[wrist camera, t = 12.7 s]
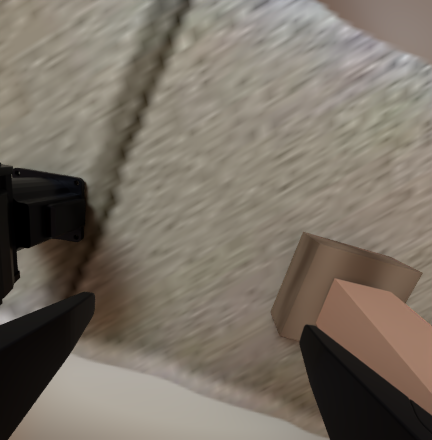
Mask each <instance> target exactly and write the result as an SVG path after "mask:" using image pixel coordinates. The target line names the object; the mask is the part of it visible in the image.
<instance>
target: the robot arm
mask: <svg viewBox="0 0 432 440" xmlns="http://www.w3.org/2000/svg"><path fill="white" fill-rule="evenodd" d="M19 172H20V175H19ZM11 174H12V175H11ZM77 181H78V182H79V185H77ZM84 225H85V200H84V181H83V179H81V178H78V177H72V176H66V175H60V174H54V173H48V172H42V171H36V170H30V169H24V168H14V169H13V166H9V165H3V164H1V163H0V305H1V304H2V299H3V298H4V297H5V296H6V295H7V294H8V293H9V292H10V291H11V290H12V289H13V286H14V283H15V282H16V281H17V280H18V279H19V278H20V271H19V270H18V265H17V251H19V250H21V249H24V248H30V247H33V246H35V245H37V244H40V243H42V242H45V241H47V240H49V239H53V238H54V239H61V240H67V241H74V242H79V241H81V240H82V239H83V237H84ZM76 235H78V237H79V238H77V237H76ZM94 310H95V294H94V293H90V292H82V293H79V294H77V295H74V296H72V297H69V298H67V299H64V300H62V301H59V302H57V303H54V304H52V305H49V306H47V307H44V308H42V309H39V310H37V311H34V312H32V313H29V314H27V315H24V316H22V317H19V318H17V319H14V320H12V321H9V322H7V323H4V324H2V325H0V440H8V439H9V437H10V436H11V435H12V433H13V432H14V431H15V429H16V428H17V426H18V425H19V424H20V422H21V421H22V420H23V418H24V417H25V415H26V414H27V413H28V411H29V410H30V409H31V407H32V406H33V404H34V403H35V402H36V400H37V399H38V397H39V396H40V395H41V393H42V392H43V390H44V389H45V388H46V386H47V385H48V384H49V382H50V381H51V380H52V378H53V377H54V375H55V374H56V373H57V371H58V370H59V369H60V367H61V366H62V364H63V363H64V362H65V360H66V359H67V357H68V356H69V355H70V353H71V352H72V350H73V348H74V347H75V345H76V343H77V342H78V340H79V338H80V337H81V335H82V333H83V332H84V330H85V328H86V327H87V325H88V323H89V322H90V320H91V318H92V316H93V314H94ZM300 348H301V352H302V356H303V359H304V363H305V367H306V371H307V374H308V378H309V382H310V385H311V388H312V391H313V394H314V397H315V399H316V402H317V405H318V408H319V410H320V413H321V416H322V419H323V421H324V424H325V427H326V430H327V432H328V435H329V438H330V440H432V415H431V414H430V413H428V412H427V411H426V410H424V409H423V408H422V407H420V406H419V405H418V404H417V403H415V402H414V401H413V400H411V399H409V398H408V397H407V396H406V395H405V394H403V393H402V392H401V391H400V390H398V389H397V388H396V387H394V386H393V385H392V384H390V383H389V382H388V381H387V380H385V379H384V378H383V377H381V376H380V375H379V374H378V373H376V372H375V371H374V370H372V369H371V368H370V367H368V366H367V365H366V364H365V363H363V362H362V361H361V360H359V359H358V358H357V357H355V356H354V355H353V354H352V353H350V352H349V351H348V350H346V349H345V348H344V347H342V346H341V345H340V344H339V343H337V342H336V341H335V340H333V339H332V338H331V337H330V336H328V335H327V334H326V333H324V332H323V331H322V330H320V329H319V328H318V327H317V326H315V325H309V324H306V325H305V326H304V328H303V331H302V334H301V337H300Z"/></svg>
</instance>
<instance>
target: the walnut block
mask: <svg viewBox="0 0 432 440" xmlns="http://www.w3.org/2000/svg"><path fill="white" fill-rule="evenodd" d="M422 274H423V273H422V272H420V271H418V270H416V269H414V268H412V267H410V266H407V265H405V264H403V263H401V262H399V261H397V260H395V259H393V258H391V257H389V256H385V255H382V254H378V253H375V252H371V251H368V250H365V249H361V248H358V247H354V246H351V245H347V244H344V243H340V242H337V241H333V240H330V239H326V238H323V237H319V236H316V235H312V234H309V233H305V232H303V234H302V236H301V239H300V241H299V244H298V246H297V248H296V251H295V253H294V256H293V258H292V261H291V263H290V266H289V268H288V270H287V273H286V275H285V278H284V280H283V283H282V285H281V288H280V290H279V293H278V295H277V297H276V300H275V302H274V305H273V307H272V310H271V314H272V317H273V319H274V322H275V325H276V327H277V330H278V332H279V335H280V336H282V337H286V338H289V339H293V340H297V341H300V337H301V334H302V331H303V328H304V326H305V325H306V324H309V325H315V326H317V325H316V321H317V319H318V316H319V314H320V312H321V309H322V307H323V304H324V302H325V300H326V297H327V295H328V292H329V290H330V288H331V285H332V283H333V281H334V278H335V279H340V280H344V281H348V282H352V283H356V284H360V285H364V286H369V287H373V288H377V289H381V290H385V291H389V292H392V293H393V294H394V295H395V296H396V297H398V298H399V299H400V300H401V301H402V302H404V303H406V301H407V300H408V298H409V296H410V294H411V293H412V291H413V289H414V287H415V286H416V284H417V282H418V281H419V279H420V277H421V275H422Z"/></svg>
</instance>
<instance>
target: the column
mask: <svg viewBox="0 0 432 440" xmlns="http://www.w3.org/2000/svg"><path fill="white" fill-rule="evenodd" d="M316 325H317V327H318V328H319V329H320V330H322V331H323V332H324V333H326V334H327V335H328V336H330V337H331V338H332V339H333V340H335V341H336V342H337V343H339V344H340V345H341V346H342V347H344V348H345V349H346V350H348V351H349V352H350V353H352V354H353V355H354V356H355V357H357V358H358V359H359V360H361V361H362V362H363V363H365V364H366V365H367V366H368V367H370V368H371V369H372V370H374V371H375V372H376V373H378V374H379V375H380V376H381V377H383V378H384V379H385V380H387V381H388V382H389V383H390V384H392V385H393V386H394V387H396V388H397V389H398V390H400V391H401V392H402V393H403V394H405V395H406V396H407V397H408V398H409V399H411V400H413V401H414V402H415V403H417V404H418V405H419V406H420V407H422V408H423V409H424V410H426V411H427V412H428V413H430V414H431V415H432V326H431V325H430V324H429V323H428V322H426V321H425V320H424V319H423V318H422V317H420V316H419V315H418V314H417V313H416V312H414V311H413V310H412V309H411V308H410V307H408V306H407V305H406V304H405V303H404V302H402V301H401V300H400V299H399V298H398V297H396V296H395V295H394V294H393V293H392V292H389V291H385V290H381V289H377V288H373V287H369V286H364V285H360V284H356V283H352V282H348V281H344V280H340V279H335V278H334V281H333V283H332V285H331V288H330V290H329V292H328V295H327V297H326V300H325V302H324V304H323V307H322V309H321V312H320V314H319V316H318V319H317V321H316Z"/></svg>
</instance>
